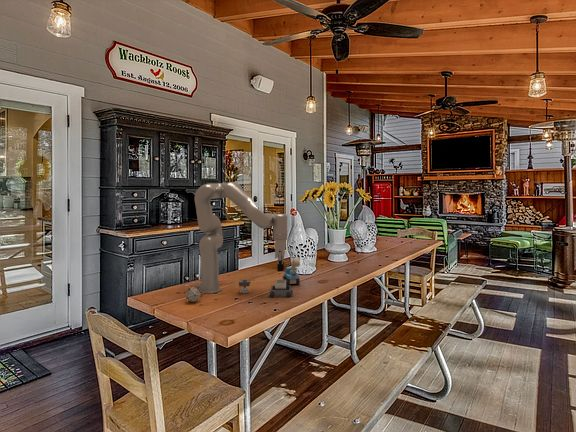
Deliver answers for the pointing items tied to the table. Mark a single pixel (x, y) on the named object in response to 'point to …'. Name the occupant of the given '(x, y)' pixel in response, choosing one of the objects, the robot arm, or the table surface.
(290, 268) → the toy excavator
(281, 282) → the engine block
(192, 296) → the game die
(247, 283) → the wheel
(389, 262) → the table surface
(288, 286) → the chassis
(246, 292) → the axle mount
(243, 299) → the table surface
